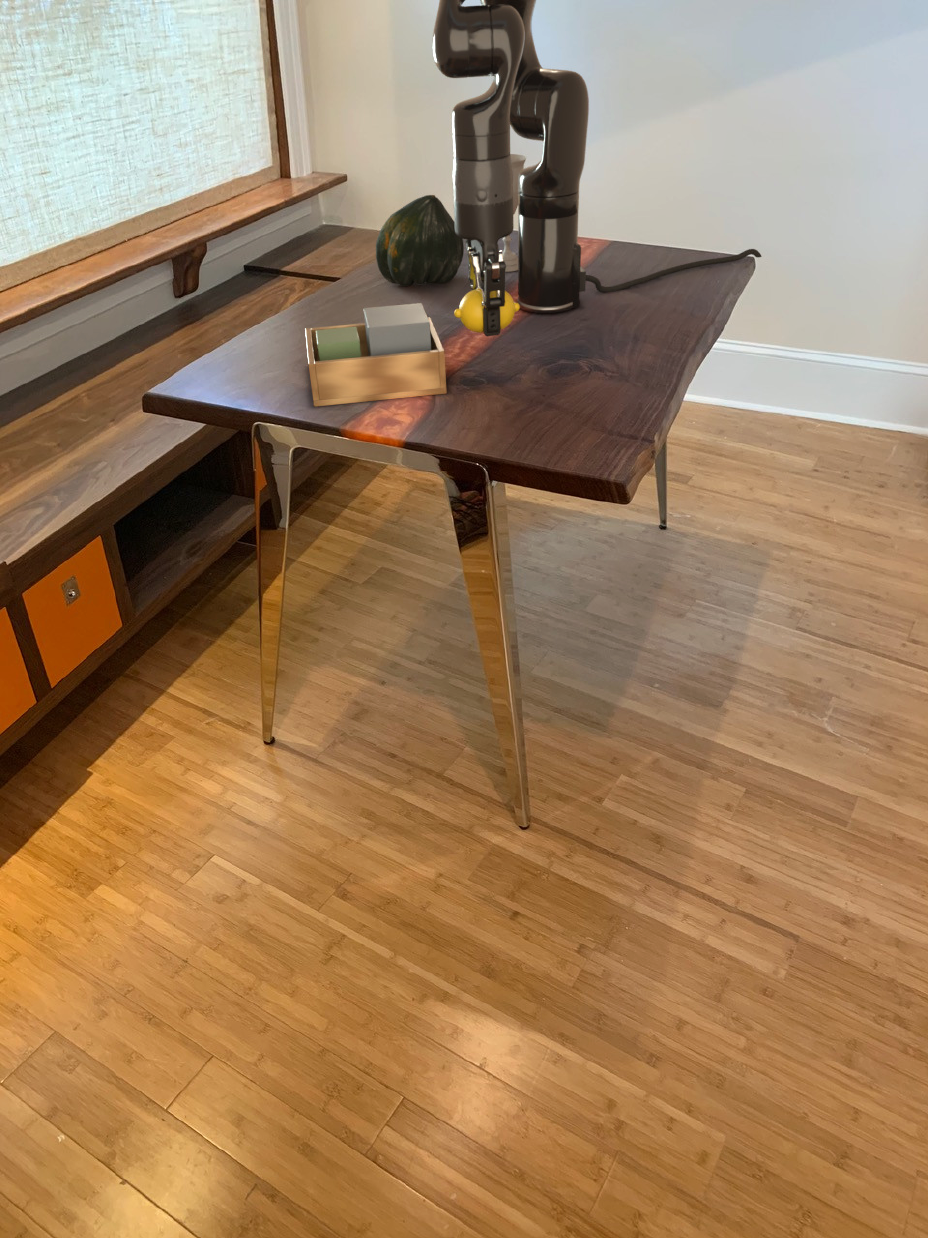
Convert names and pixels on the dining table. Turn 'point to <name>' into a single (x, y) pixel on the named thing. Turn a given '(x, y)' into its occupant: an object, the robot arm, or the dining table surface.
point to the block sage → (338, 343)
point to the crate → (375, 372)
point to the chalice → (508, 256)
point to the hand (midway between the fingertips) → (487, 326)
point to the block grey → (397, 329)
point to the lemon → (473, 310)
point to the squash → (419, 244)
